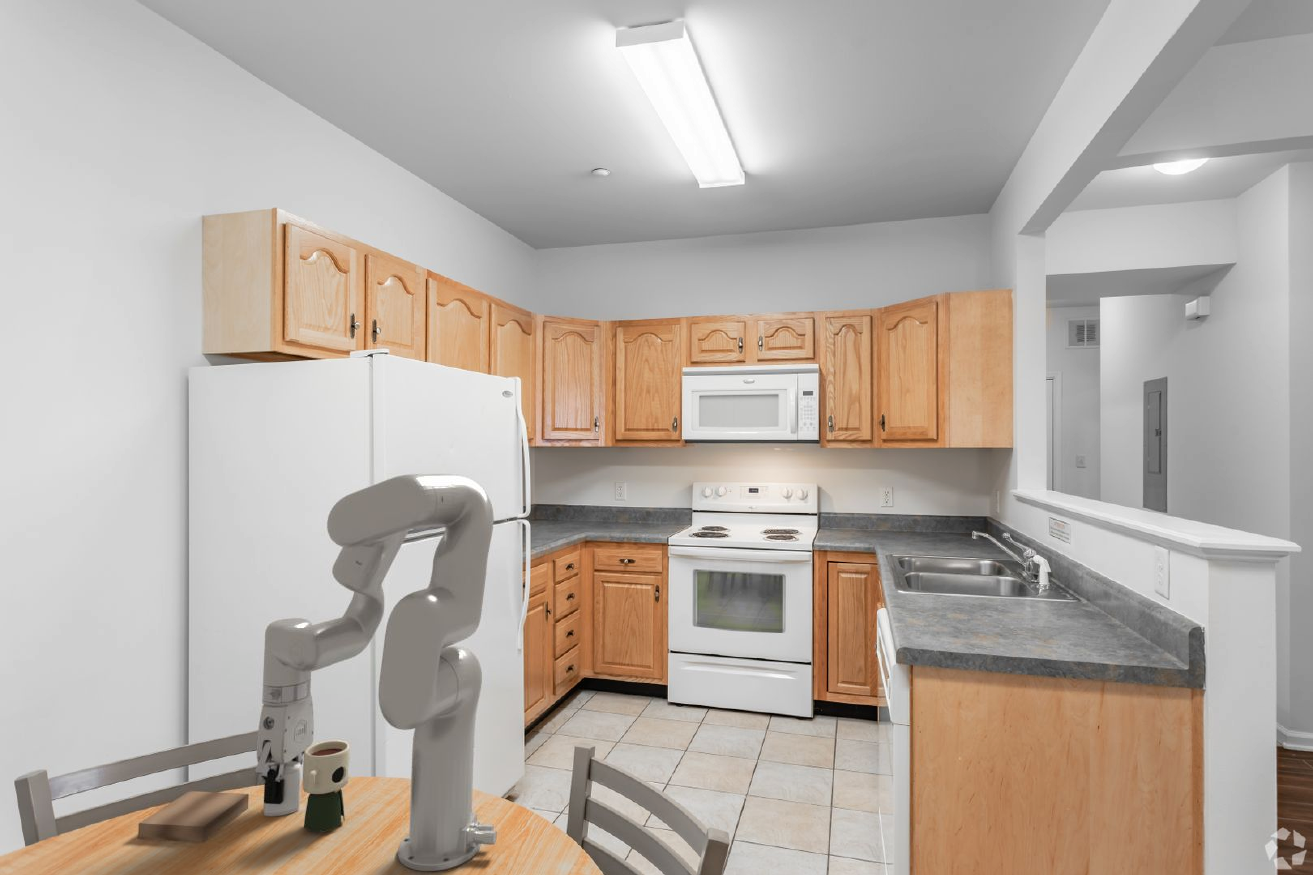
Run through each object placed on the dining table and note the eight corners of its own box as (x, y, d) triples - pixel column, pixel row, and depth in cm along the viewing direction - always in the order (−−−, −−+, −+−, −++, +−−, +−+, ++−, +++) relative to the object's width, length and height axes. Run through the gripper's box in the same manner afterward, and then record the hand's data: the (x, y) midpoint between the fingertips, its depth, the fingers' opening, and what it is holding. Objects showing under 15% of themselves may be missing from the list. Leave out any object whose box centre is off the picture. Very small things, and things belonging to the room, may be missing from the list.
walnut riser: (248, 808, 120) (248, 793, 120) (202, 842, 109) (203, 826, 109) (188, 805, 120) (189, 790, 120) (137, 838, 109) (138, 823, 109)
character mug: (329, 844, 109) (333, 762, 109) (285, 843, 109) (289, 761, 109) (359, 810, 120) (362, 735, 120) (319, 809, 120) (322, 735, 120)
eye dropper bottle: (288, 818, 116) (291, 747, 117) (258, 816, 117) (261, 745, 117) (304, 806, 121) (307, 738, 121) (275, 804, 121) (278, 736, 122)
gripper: (278, 708, 111) (273, 821, 110) (332, 677, 128) (328, 775, 127) (234, 706, 112) (228, 819, 111) (294, 675, 128) (290, 773, 127)
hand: (282, 794), depth 119 cm, fingers closed on eye dropper bottle, 4 cm apart
